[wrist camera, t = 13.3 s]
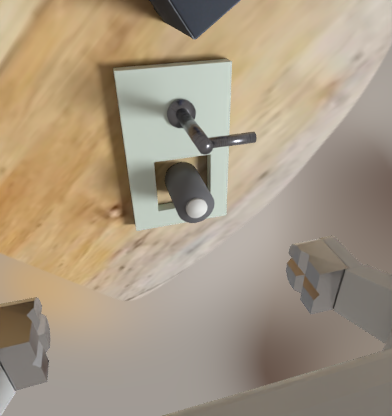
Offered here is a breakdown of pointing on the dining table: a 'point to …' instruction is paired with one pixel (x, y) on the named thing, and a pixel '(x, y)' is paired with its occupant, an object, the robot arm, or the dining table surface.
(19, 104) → the dining table surface
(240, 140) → the grey angled rod part
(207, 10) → the small box
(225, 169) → the pale green board
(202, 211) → the grey cylinder with ball
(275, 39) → the dining table surface
